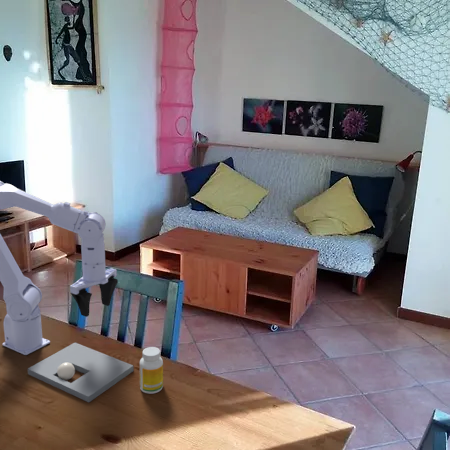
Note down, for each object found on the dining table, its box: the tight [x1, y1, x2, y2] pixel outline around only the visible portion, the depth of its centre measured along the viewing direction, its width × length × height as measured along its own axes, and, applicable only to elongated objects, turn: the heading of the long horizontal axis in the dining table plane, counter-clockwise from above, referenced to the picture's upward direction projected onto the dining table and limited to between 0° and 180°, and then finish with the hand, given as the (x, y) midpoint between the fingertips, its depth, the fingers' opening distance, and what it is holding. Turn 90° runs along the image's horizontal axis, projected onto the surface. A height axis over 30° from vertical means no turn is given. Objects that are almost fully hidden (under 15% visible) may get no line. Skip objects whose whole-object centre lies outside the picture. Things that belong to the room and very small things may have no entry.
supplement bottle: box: [139, 346, 164, 395], centre depth 117 cm, size 5×5×10 cm
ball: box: [57, 362, 76, 381], centre depth 120 cm, size 4×4×4 cm
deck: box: [27, 342, 134, 403], centre depth 123 cm, size 20×15×2 cm
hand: (95, 309), depth 132 cm, fingers open, 7 cm apart
